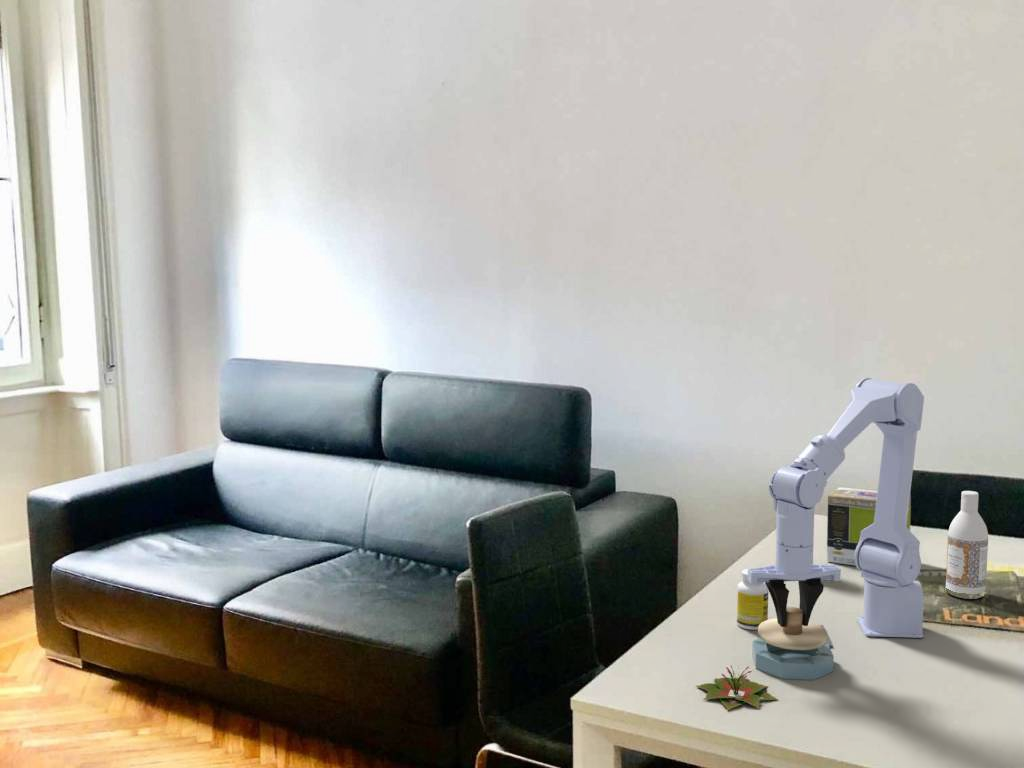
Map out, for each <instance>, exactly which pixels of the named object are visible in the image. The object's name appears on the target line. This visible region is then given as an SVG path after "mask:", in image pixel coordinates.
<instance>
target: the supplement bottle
mask: <svg viewBox="0 0 1024 768" xmlns="http://www.w3.org/2000/svg"><path fill="white" fill-rule="evenodd" d="M748 569H749V568H745V569H743V570H742V571H741V580H742V581H740V582H739V583H738V584H737V589H736V590H737V595H736V597H737V598H736V624H737V626H739V627H740V628H742V629H744V630H750V631H751V630H752V631H758V626H759V625H760V624H761V623H762V622H764V621H766V620H769V617H768V615H769V590H768V588H767V586H766V584H765V582H761V583H758V584H751V583H750V582H749V581H748Z"/></svg>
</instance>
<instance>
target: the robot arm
mask: <svg viewBox="0 0 1024 768" xmlns="http://www.w3.org/2000/svg"><path fill="white" fill-rule="evenodd" d="M849 396H850V397H849V398H850V403H849V405H848V406H847V408H845V410H844V412H842V414H841V415H840V417H839V418H838V420H837V421H836V422H835V424H833V426H832V428H831V429H830V430H829V431H828V433H827V434H826V435H823V434H822V435H820V434H819V435H816V436H814V437H813V438H812V439H811V440H810V442H809V444H808V445H807V446H806V447H805V448H804V449H803V450H802V452H800V453H799V455H798V456H796V458H795V459H794V460H793V461H792V463H791V464H790V465H785V466H782V467H780V468H778V469H777V470H776V471H775V472H774V473H773V474H772V477H771V480H770V484H768V491H769V495H770V497H771V499H772V501H773V509H774V511H775V512H776V527H775V528H776V532H775V534H776V535H775V536H776V537H775V541H776V542H775V564H773V565H768V566H761V567H757V568H755V567H754V568H747V569H748V581H749V582H750V583H751V584H758V583H761V582H763V583H765V584H766V586H767V588H768V593H769V594H770V597H771V599H772V600H771V601H772V602H773V606H774V609H775V613H776V618H777V621H778V624H779V625H780V626H781V627H786V622H787V613H786V609H787V607H788V606H787V605H788V599H789V593H790V590H789V589H788V588H787V584H786V582H798V591H799V607H798V608H799V609H801V610H803V626H808V623H809V621H810V619H811V616H812V612H813V610H814V607H815V606H816V603H817V601H818V600H819V598H820V596H821V595H822V593H823V592H824V584H823V583H822V581H830V580H832V581H833V582H836V581H837V582H841V575H842V574H841V572H842V571H841V570H842V569H841V568H840V567H838V566H837V565H835V564H834V565H824V564H823V565H822V564H814V537H815V533H814V531H815V527H814V526H815V506H817V505H818V504H819V503H820V502H821V500H822V498H823V495H824V491H825V488H826V486H827V484H828V479H829V478H830V477H831V475H832V474H834V472H835V471H836V470H837V469H838V468H839V466H841V464H842V463H843V462H844V461H845V460H846V459H845V458H846V453H845V449H846V448H847V447H848V446H849V444H851V443H852V442H853V441H854V440H855V439H857V437H858V436H859V435H860V434H861V433H862V432H864V431H865V430H866V429H867V428H868V427H869V426H870V425H871V424H872V423H873V424H875V425H876V426H877V427H878V428H879V430H880V431H881V433H882V434H883V440H882V448H881V456H880V458H881V459H880V466H879V474H878V483H877V490H878V491H877V500H876V508H875V517H874V523H873V524H872V525H870V526H868V527H867V528H865V529H863V530H862V531H861V534H860V540H859V543H858V545H857V547H856V550H855V554H854V559H855V564H856V566H855V567H856V568H857V570H858V571H860V577H861V578H863V579H864V584H863V585H864V586H863V587H864V588H863V616H857V617H856V620H857V622H858V624H859V626H860V628H861V630H862V631H863V633H864V634H865V636H866V637H880V638H881V637H882V638H883V637H885V638H892V637H893V638H913V639H915V638H916V639H918V638H919V639H921V638H924V635H923V621H924V592H923V587H922V584H921V582H920V581H919V580H916V579H917V578H918V576H919V574H920V572H921V569H922V568H921V567H922V559H921V554H920V546H921V544H920V543H921V541H920V540H919V539H918V538H917V537H916V536H915V535H914V533H913V532H912V531H911V529H910V530H909V529H908V528H907V526H906V525H907V516H908V508H909V499H910V494H911V489H912V488H911V487H912V481H913V471H914V462H915V454H916V446H917V437H918V431H920V430H921V428H922V427H921V426H922V420H923V413H924V412H923V411H924V403H925V402H924V401H925V395H924V394H923V393H922V391H921V390H920V388H919V386H918V385H916V384H915V383H913V382H898V381H890V380H882V379H881V380H880V379H874V378H873V379H872V378H871V377H864V378H862V379H860V380H859V381H858V383H856V385H855V387H854V388H853V389H851V391H850V395H849Z"/></svg>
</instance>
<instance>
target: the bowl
mask: <svg viewBox="0 0 1024 768" xmlns="http://www.w3.org/2000/svg"><path fill="white" fill-rule="evenodd" d="M831 649H832V648H830V647H829V645H828V644H827V643H826V644H825V645H823V646H821V647H819V648H816V649H810V650H790V649H784V648H780V647H776V646H773V645H771V644H768V643H767V642H765V641H763V640H762V639H761V638H760V637H759V638H758V639H755V640H752V659H753V663H755V664H754V667H756V668H755V669H756V670H759V671H762V672H764V673H766V674H769V675H772V676H774V677H776V678H779V679H783V680H785V679H786V680H806V681H807V680H808V681H809V680H810V681H811V680H813V681H815V680H817V679H819V678H821V677H823V676H826V675H828V674H830V673H833V672H834V660H835V659H834V658H835V657H834V654H833V652H832V650H831Z"/></svg>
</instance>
